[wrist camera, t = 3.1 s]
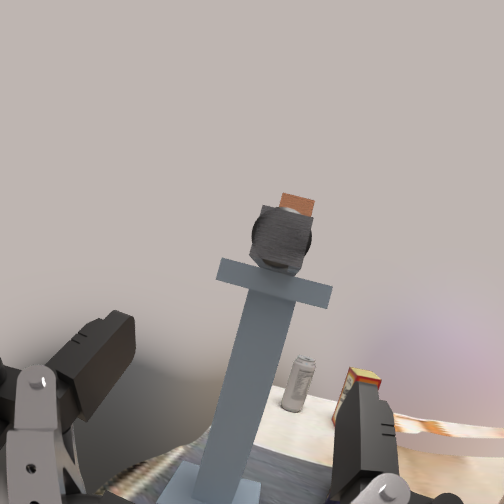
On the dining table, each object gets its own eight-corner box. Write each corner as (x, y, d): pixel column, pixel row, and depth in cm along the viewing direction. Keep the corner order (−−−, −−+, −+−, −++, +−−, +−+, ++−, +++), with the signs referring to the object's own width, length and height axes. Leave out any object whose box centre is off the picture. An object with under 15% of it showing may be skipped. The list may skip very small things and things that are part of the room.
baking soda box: (331, 419, 78) (350, 365, 79) (353, 423, 77) (372, 369, 78) (336, 432, 68) (357, 373, 70) (360, 436, 67) (382, 378, 69)
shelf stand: (184, 463, 42) (235, 267, 45) (258, 485, 40) (321, 290, 43) (148, 520, 26) (211, 254, 29) (248, 551, 24) (343, 289, 27)
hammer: (262, 275, 41) (282, 199, 42) (293, 283, 41) (312, 206, 42) (239, 256, 18) (282, 103, 19) (308, 274, 18) (343, 117, 19)
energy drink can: (296, 405, 84) (311, 356, 85) (304, 413, 78) (321, 362, 80) (276, 403, 83) (292, 353, 84) (284, 412, 77) (301, 359, 78)
